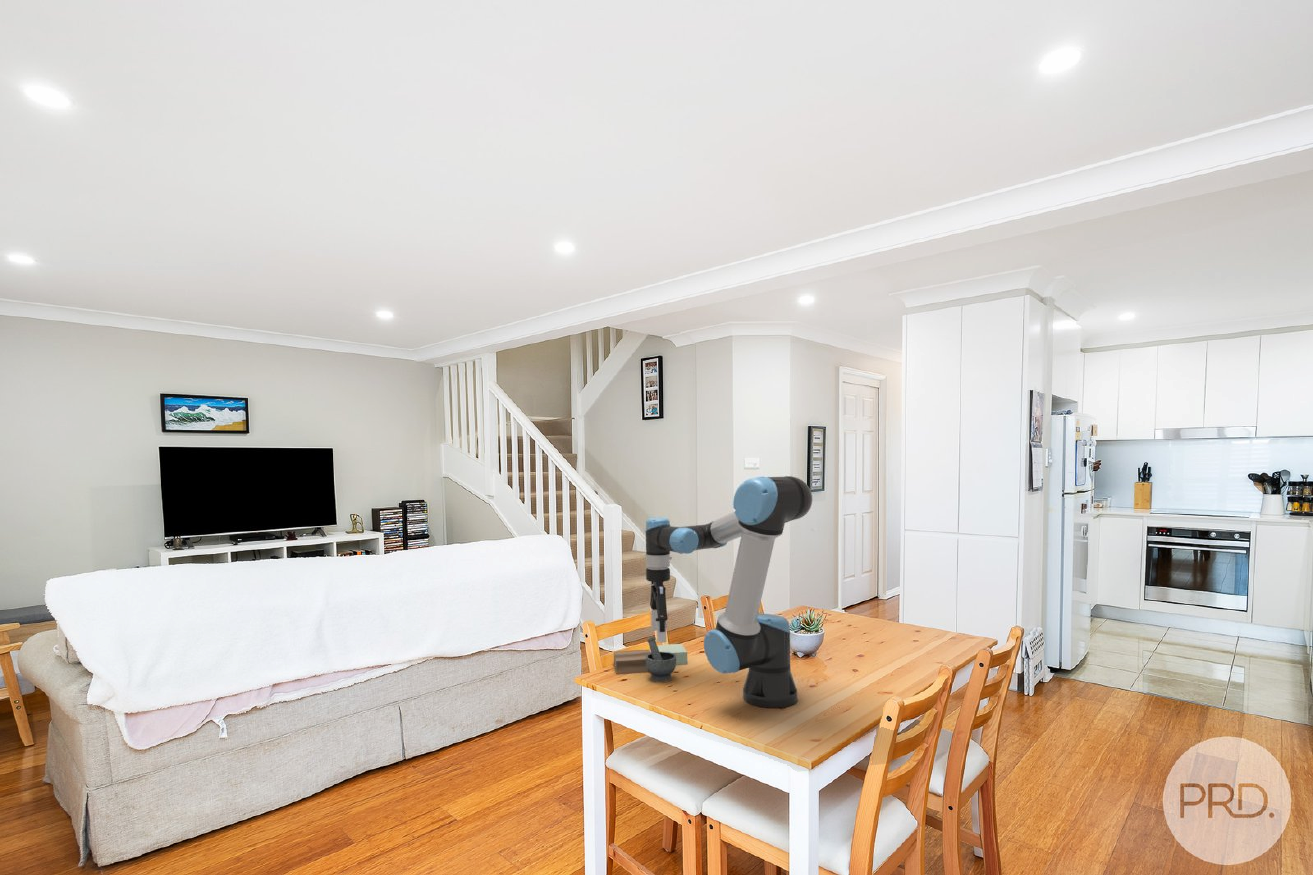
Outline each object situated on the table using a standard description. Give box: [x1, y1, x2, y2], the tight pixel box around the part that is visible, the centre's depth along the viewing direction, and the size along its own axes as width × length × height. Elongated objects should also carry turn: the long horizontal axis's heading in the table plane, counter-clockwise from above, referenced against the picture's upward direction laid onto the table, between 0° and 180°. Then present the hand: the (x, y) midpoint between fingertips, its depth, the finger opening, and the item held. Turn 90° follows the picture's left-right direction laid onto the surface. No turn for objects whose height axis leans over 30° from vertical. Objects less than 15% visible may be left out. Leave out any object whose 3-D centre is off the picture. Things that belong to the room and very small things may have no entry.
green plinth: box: [657, 643, 688, 666], centre depth 218 cm, size 10×10×4 cm
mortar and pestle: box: [646, 636, 677, 683], centre depth 200 cm, size 11×9×12 cm
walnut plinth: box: [613, 649, 651, 675], centre depth 211 cm, size 11×12×4 cm
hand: (658, 636), depth 201 cm, fingers open, 13 cm apart
